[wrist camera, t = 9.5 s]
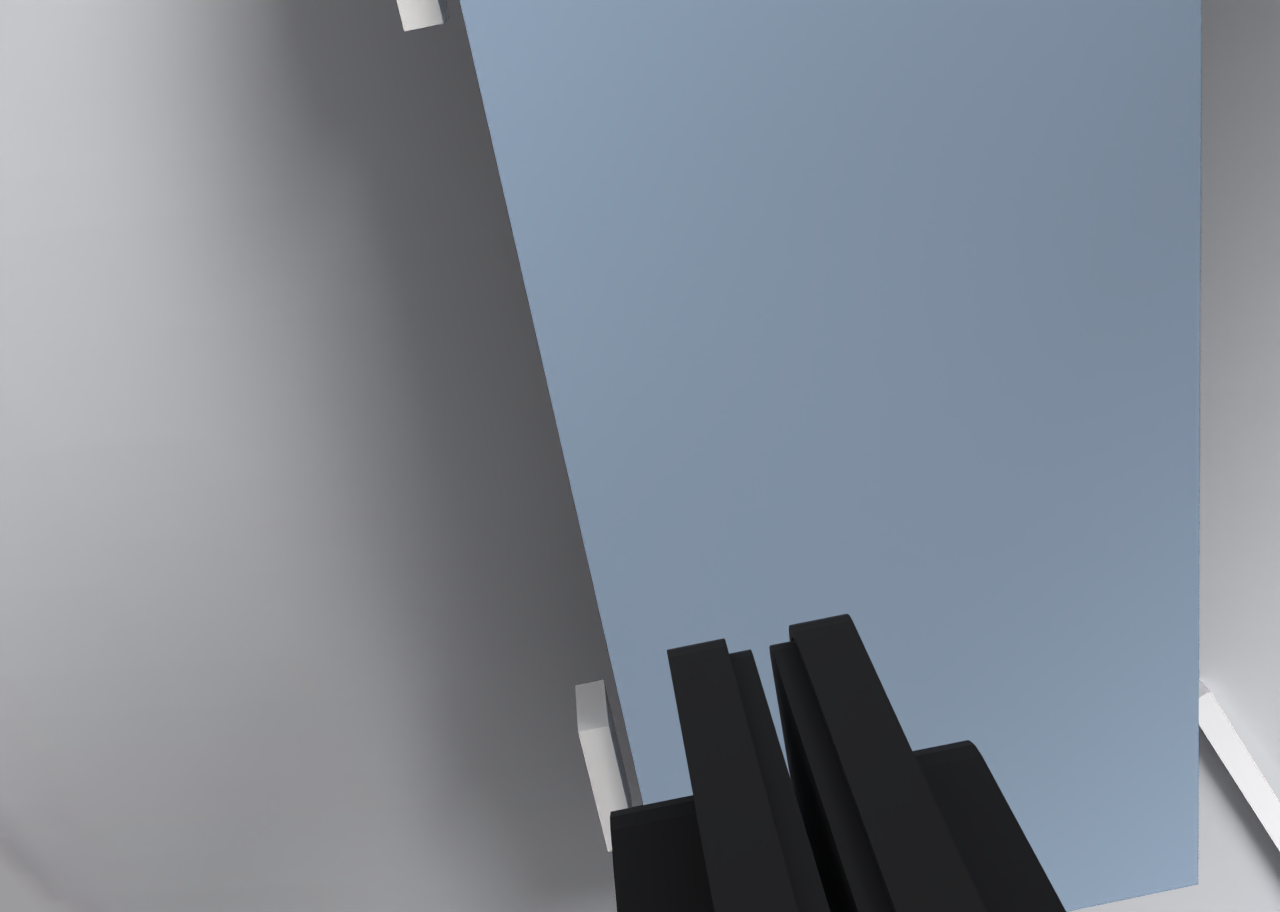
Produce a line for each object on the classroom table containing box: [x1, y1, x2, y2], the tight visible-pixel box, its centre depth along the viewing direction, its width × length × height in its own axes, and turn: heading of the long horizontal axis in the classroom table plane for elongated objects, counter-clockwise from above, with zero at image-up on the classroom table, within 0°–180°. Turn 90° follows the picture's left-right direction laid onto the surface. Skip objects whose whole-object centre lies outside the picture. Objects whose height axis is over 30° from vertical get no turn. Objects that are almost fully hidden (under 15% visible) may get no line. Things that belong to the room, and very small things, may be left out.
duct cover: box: [397, 0, 1201, 912], centre depth 21 cm, size 26×12×2 cm, turn 10°
